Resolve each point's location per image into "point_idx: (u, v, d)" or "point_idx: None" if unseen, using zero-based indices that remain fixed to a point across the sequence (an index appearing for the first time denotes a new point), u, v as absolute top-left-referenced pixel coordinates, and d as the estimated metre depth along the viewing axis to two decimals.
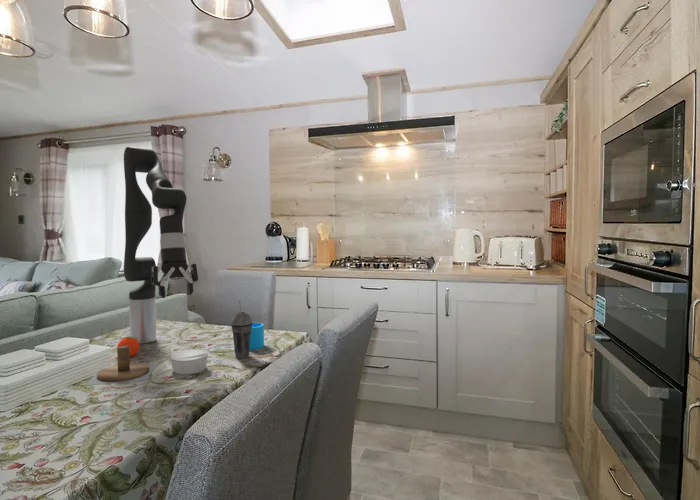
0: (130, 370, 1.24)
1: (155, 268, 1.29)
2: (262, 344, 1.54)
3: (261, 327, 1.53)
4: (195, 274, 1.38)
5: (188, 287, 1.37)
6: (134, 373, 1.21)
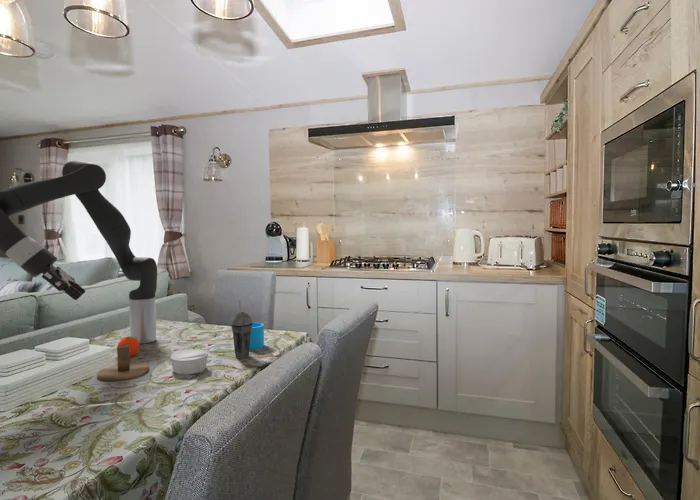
0: (130, 370, 1.24)
1: None
2: (262, 344, 1.54)
3: (261, 327, 1.53)
4: None
5: None
6: (134, 373, 1.21)
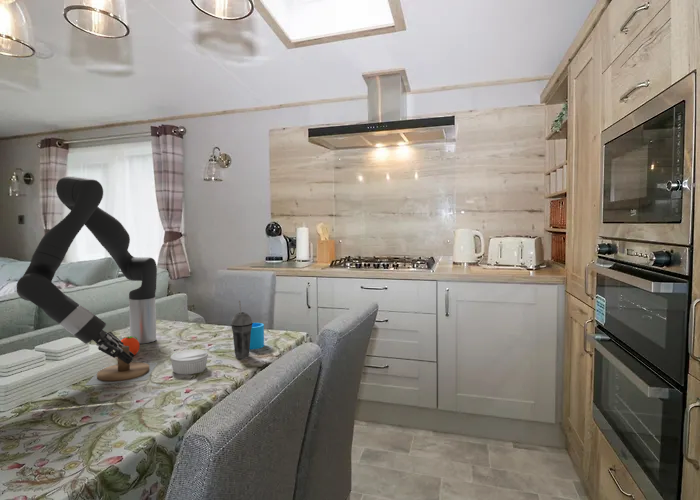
0: (131, 370, 1.24)
1: None
2: (262, 344, 1.54)
3: (261, 327, 1.53)
4: None
5: None
6: (135, 373, 1.22)
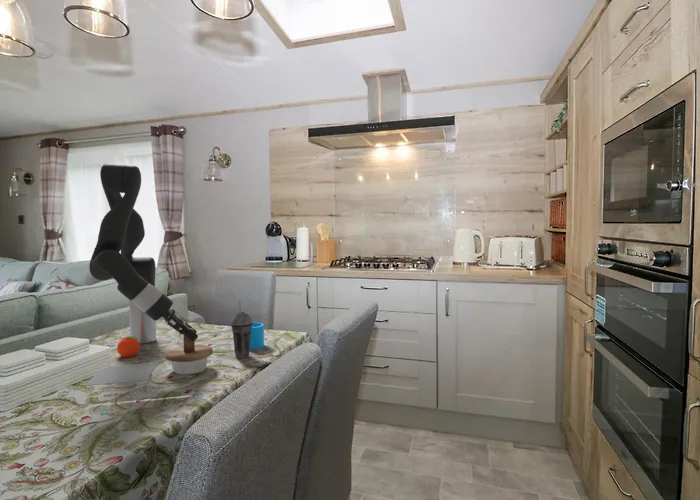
0: (196, 351, 1.27)
1: None
2: (262, 344, 1.54)
3: (261, 327, 1.53)
4: None
5: None
6: (201, 354, 1.25)
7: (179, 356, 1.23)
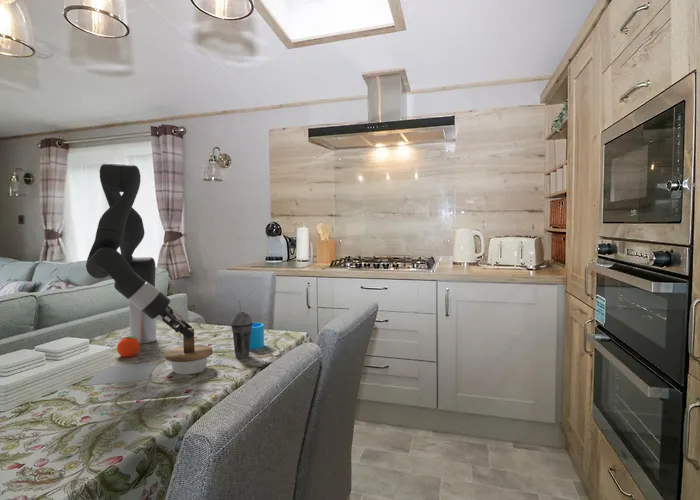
0: (196, 352, 1.27)
1: None
2: (262, 344, 1.54)
3: (261, 327, 1.53)
4: None
5: None
6: (201, 354, 1.25)
7: (179, 356, 1.23)
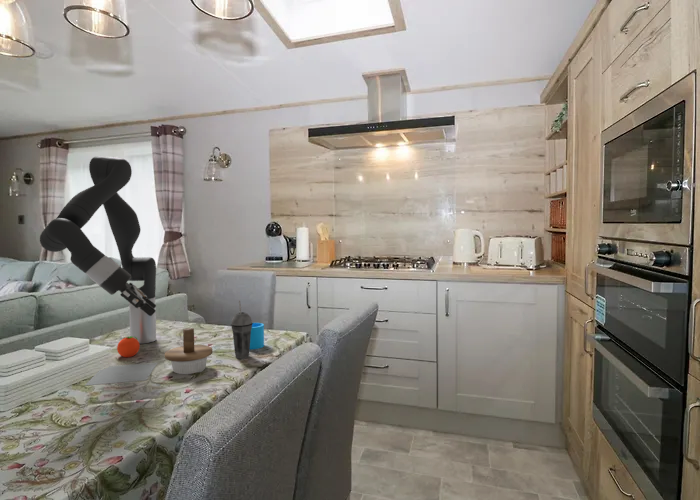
0: (196, 352, 1.28)
1: None
2: (262, 344, 1.54)
3: (261, 327, 1.53)
4: None
5: None
6: (200, 354, 1.25)
7: (178, 356, 1.23)
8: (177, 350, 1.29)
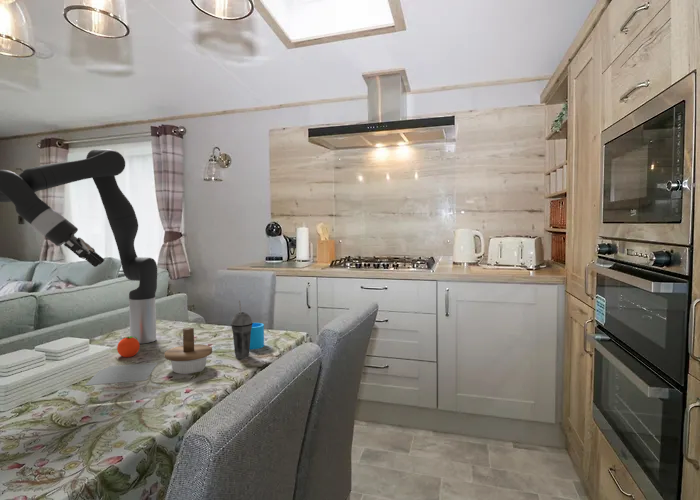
0: (195, 351, 1.28)
1: None
2: (262, 344, 1.54)
3: (261, 327, 1.53)
4: None
5: None
6: (200, 353, 1.26)
7: (178, 355, 1.23)
8: (177, 350, 1.29)
